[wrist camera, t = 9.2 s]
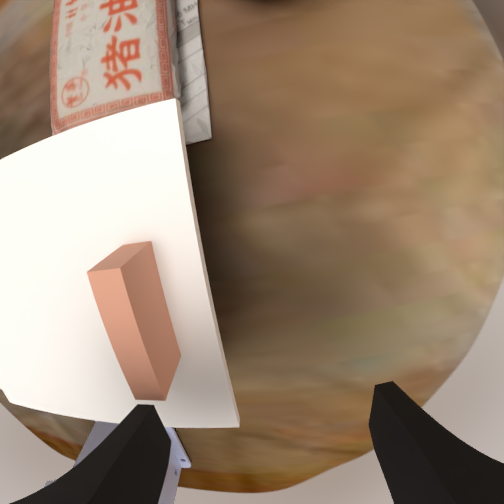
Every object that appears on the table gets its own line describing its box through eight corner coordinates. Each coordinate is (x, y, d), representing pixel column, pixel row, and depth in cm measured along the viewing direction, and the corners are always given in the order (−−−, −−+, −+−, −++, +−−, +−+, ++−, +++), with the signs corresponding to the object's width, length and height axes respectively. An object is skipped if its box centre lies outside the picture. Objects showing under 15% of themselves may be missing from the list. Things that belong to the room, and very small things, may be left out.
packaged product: (40, -60, 7) (181, -115, 7) (70, -36, 12) (193, -77, 11) (23, 181, 13) (201, 136, 12) (69, 173, 17) (216, 141, 17)
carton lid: (239, 418, 14) (235, 471, 11) (14, 397, 15) (-9, 426, 12) (179, 100, 10) (147, 80, 7) (-60, 197, 11) (-98, 209, 8)
